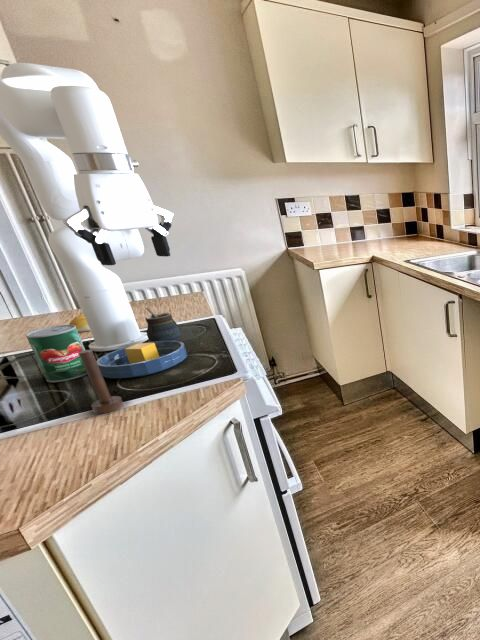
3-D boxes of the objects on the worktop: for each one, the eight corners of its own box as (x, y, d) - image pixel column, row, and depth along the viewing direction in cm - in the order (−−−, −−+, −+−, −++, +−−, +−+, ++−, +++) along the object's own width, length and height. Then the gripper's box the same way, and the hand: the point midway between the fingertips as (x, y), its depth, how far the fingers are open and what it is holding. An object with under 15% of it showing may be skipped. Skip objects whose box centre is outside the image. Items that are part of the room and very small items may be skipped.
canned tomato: (64, 383, 93) (43, 337, 89) (36, 381, 95) (14, 335, 91) (102, 368, 101) (84, 325, 97) (76, 367, 102) (57, 324, 98)
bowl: (85, 375, 97) (79, 361, 96) (161, 350, 111) (156, 337, 110) (129, 385, 92) (124, 370, 91) (203, 357, 106) (199, 344, 105)
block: (130, 364, 101) (124, 349, 100) (144, 357, 105) (138, 343, 103) (146, 364, 101) (140, 348, 100) (159, 357, 105) (154, 342, 103)
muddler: (88, 411, 81) (63, 354, 77) (115, 401, 85) (92, 346, 81) (102, 415, 80) (77, 357, 75) (129, 404, 83) (106, 348, 79)
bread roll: (74, 334, 126) (69, 321, 124) (69, 328, 131) (64, 316, 129) (110, 326, 132) (106, 314, 130) (104, 321, 137) (100, 310, 135)
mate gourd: (166, 348, 112) (153, 313, 108) (142, 347, 113) (129, 312, 110) (190, 339, 119) (179, 305, 115) (167, 338, 120) (156, 304, 116)
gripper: (143, 167, 85) (170, 252, 91) (29, 165, 70) (71, 268, 76) (168, 165, 83) (195, 253, 89) (56, 163, 67) (97, 269, 74)
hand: (137, 260), depth 82 cm, fingers open, 9 cm apart
